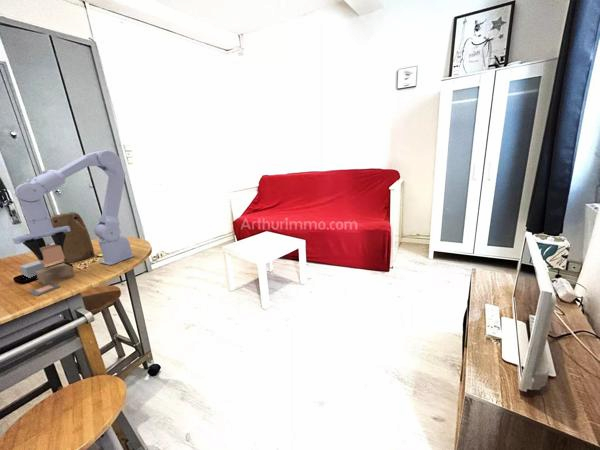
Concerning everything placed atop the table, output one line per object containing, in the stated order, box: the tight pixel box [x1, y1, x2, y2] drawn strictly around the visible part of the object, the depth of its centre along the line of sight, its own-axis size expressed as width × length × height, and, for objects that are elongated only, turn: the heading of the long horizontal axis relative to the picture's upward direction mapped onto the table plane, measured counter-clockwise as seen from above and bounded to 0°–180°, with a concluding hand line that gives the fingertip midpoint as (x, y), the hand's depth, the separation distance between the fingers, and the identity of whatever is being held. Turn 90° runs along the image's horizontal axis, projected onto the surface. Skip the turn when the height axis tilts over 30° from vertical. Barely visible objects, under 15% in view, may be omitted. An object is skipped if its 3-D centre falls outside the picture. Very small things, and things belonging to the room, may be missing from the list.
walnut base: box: [35, 262, 76, 286], centre depth 94 cm, size 8×8×4 cm
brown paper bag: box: [49, 211, 95, 263], centre depth 111 cm, size 11×8×20 cm
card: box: [28, 283, 61, 297], centre depth 87 cm, size 6×6×1 cm
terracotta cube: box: [39, 243, 65, 265], centre depth 92 cm, size 5×5×5 cm
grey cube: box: [19, 260, 46, 278], centre depth 97 cm, size 5×5×5 cm
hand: (51, 256), depth 92 cm, fingers closed on terracotta cube, 5 cm apart
